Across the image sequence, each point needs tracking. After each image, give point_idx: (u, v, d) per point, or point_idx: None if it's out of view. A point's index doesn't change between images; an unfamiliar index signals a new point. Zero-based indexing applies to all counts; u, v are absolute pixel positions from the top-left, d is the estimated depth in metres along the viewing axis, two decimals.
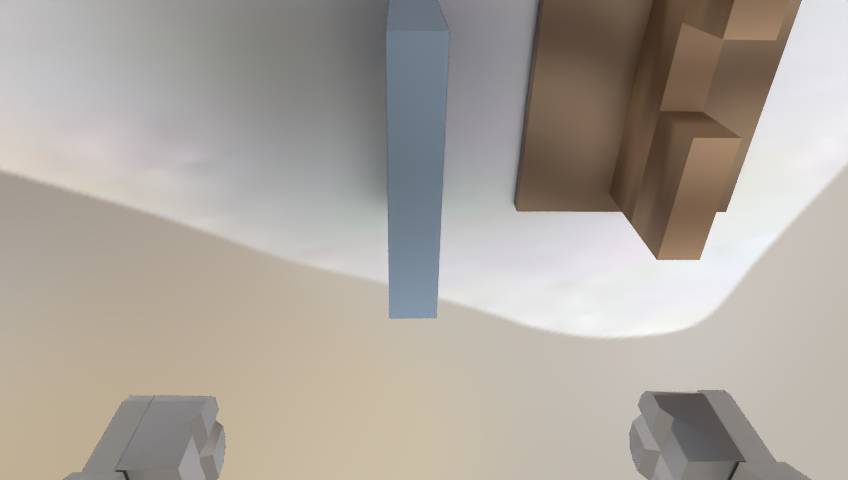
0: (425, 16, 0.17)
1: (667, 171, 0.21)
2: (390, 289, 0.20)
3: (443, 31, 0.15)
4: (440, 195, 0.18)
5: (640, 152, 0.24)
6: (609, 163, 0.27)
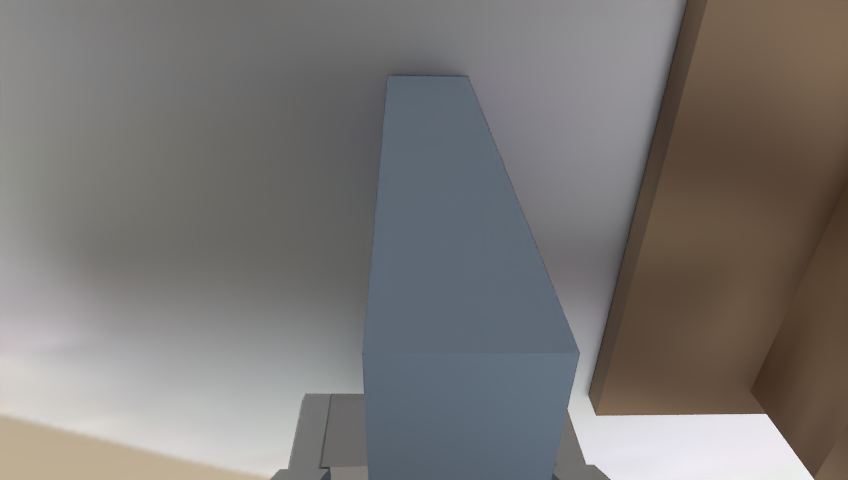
0: (475, 214, 0.07)
1: None
2: None
3: (557, 347, 0.05)
4: None
5: (844, 366, 0.13)
6: (757, 349, 0.16)
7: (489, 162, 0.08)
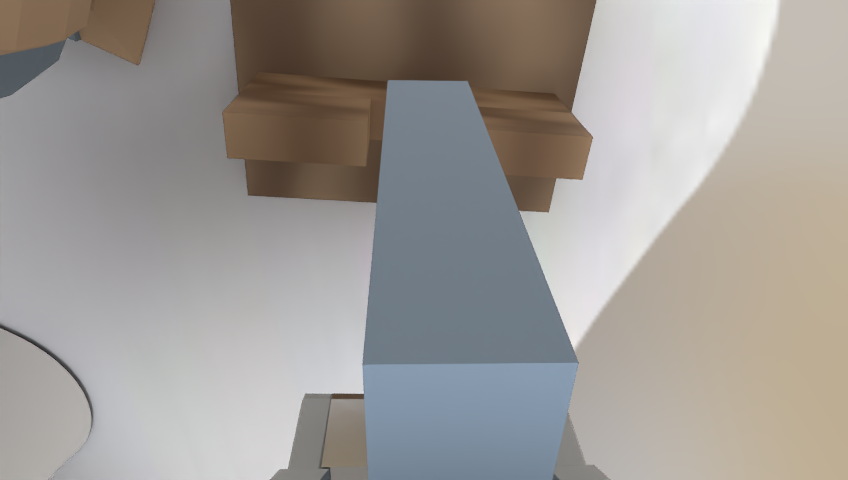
0: (475, 222, 0.07)
1: None
2: None
3: (556, 357, 0.05)
4: None
5: None
6: None
7: (489, 168, 0.08)
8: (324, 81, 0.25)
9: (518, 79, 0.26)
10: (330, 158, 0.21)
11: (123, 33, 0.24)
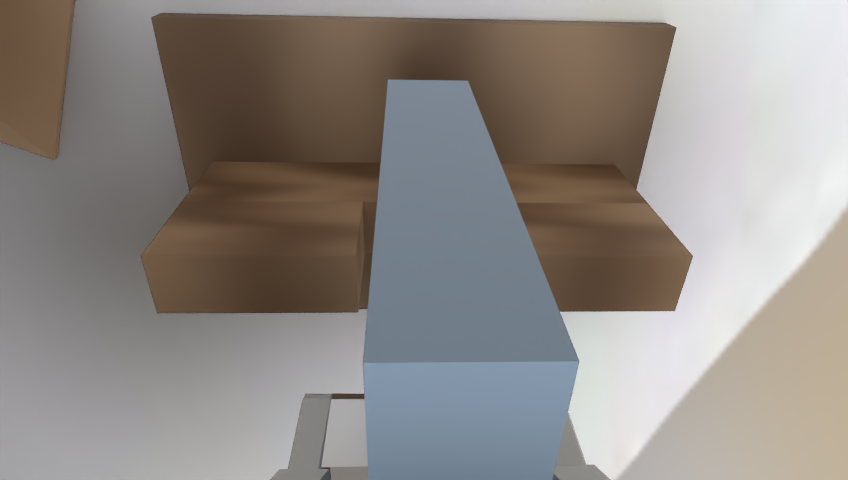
0: (475, 221, 0.07)
1: None
2: None
3: (557, 356, 0.05)
4: None
5: None
6: None
7: (489, 168, 0.08)
8: (300, 171, 0.18)
9: (564, 149, 0.19)
10: (306, 305, 0.14)
11: (25, 124, 0.18)
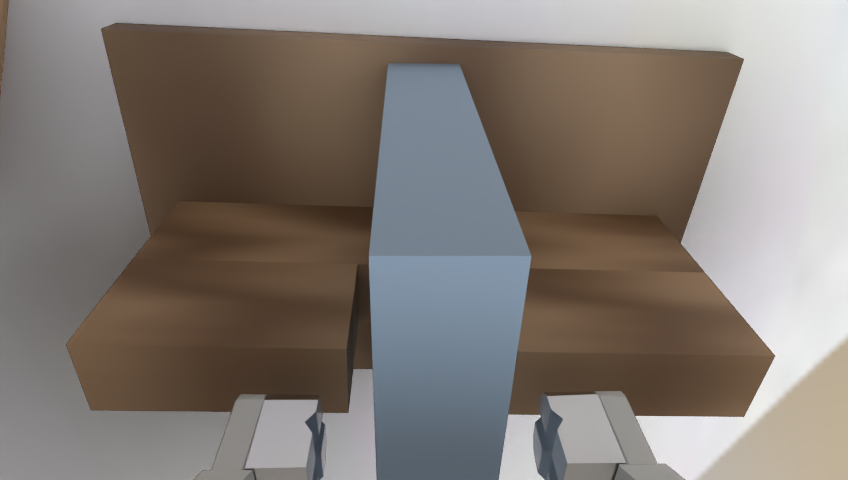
0: (459, 168, 0.08)
1: None
2: None
3: (514, 253, 0.06)
4: None
5: None
6: None
7: (473, 131, 0.09)
8: (283, 217, 0.15)
9: (599, 197, 0.16)
10: None
11: None
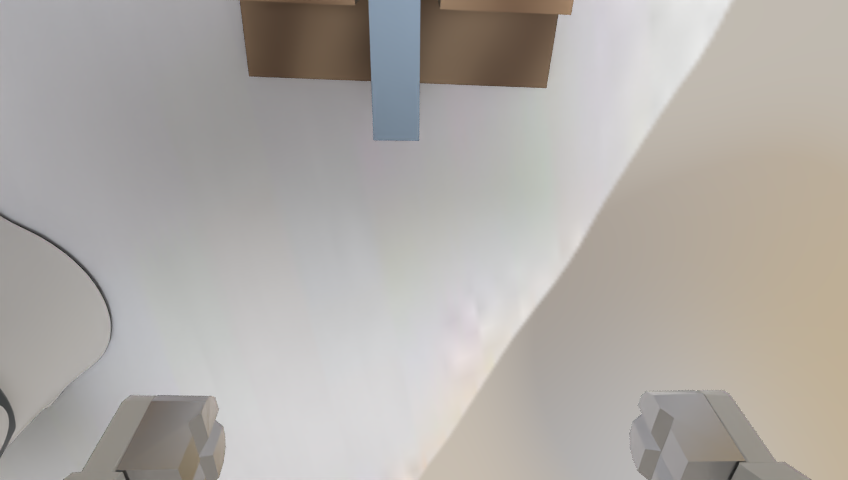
0: None
1: None
2: (373, 106, 0.21)
3: None
4: None
5: None
6: None
7: None
8: None
9: None
10: None
11: None
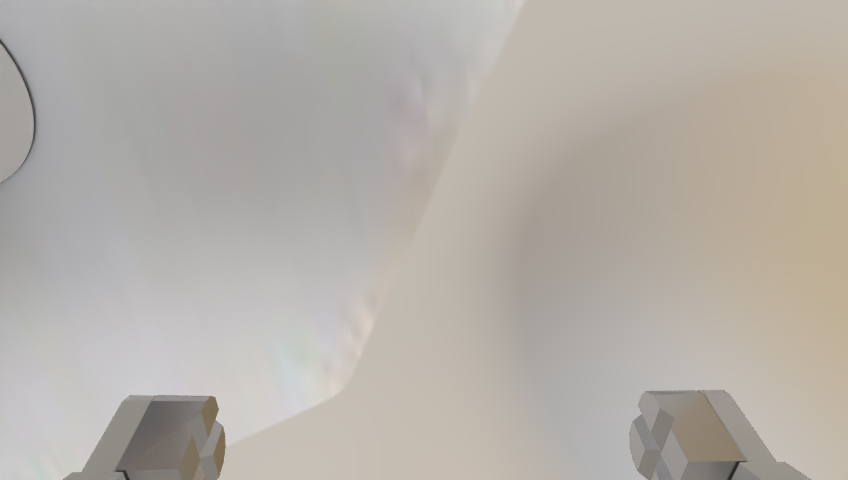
0: None
1: None
2: None
3: None
4: None
5: None
6: None
7: None
8: None
9: None
10: None
11: None
